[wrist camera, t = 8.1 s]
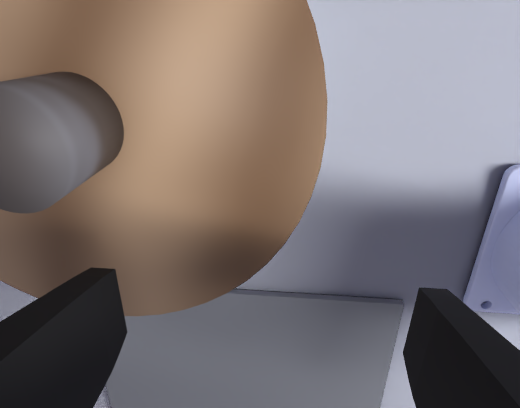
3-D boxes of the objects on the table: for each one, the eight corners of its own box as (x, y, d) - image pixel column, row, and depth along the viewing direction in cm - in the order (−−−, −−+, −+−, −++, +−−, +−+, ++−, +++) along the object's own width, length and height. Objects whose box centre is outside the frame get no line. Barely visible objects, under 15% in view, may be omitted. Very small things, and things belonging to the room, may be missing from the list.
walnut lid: (392, -148, 8) (461, -274, 5) (277, 331, 15) (272, 421, 11) (-245, -257, 8) (-609, -452, 5) (-81, 266, 15) (-191, 335, 12)
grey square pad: (402, 299, 20) (404, 304, 19) (359, 486, 28) (360, 493, 27) (84, 279, 21) (80, 283, 21) (128, 464, 29) (126, 469, 28)
